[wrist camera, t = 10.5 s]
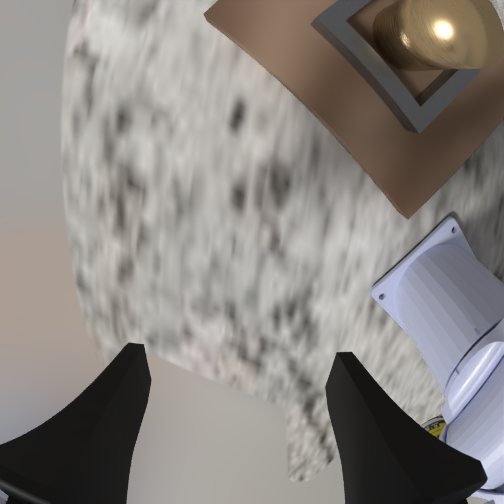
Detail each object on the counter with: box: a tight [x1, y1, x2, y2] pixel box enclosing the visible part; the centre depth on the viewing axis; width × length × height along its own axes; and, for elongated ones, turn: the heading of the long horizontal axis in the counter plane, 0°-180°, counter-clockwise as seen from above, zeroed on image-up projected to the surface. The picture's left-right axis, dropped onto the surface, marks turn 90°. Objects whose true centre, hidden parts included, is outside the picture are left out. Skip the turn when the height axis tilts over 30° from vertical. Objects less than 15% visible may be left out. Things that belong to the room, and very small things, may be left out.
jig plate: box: [204, 0, 504, 219], centre depth 13 cm, size 16×14×2 cm
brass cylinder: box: [372, 0, 504, 72], centre depth 10 cm, size 4×4×6 cm
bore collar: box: [310, 0, 483, 134], centre depth 12 cm, size 8×8×2 cm
